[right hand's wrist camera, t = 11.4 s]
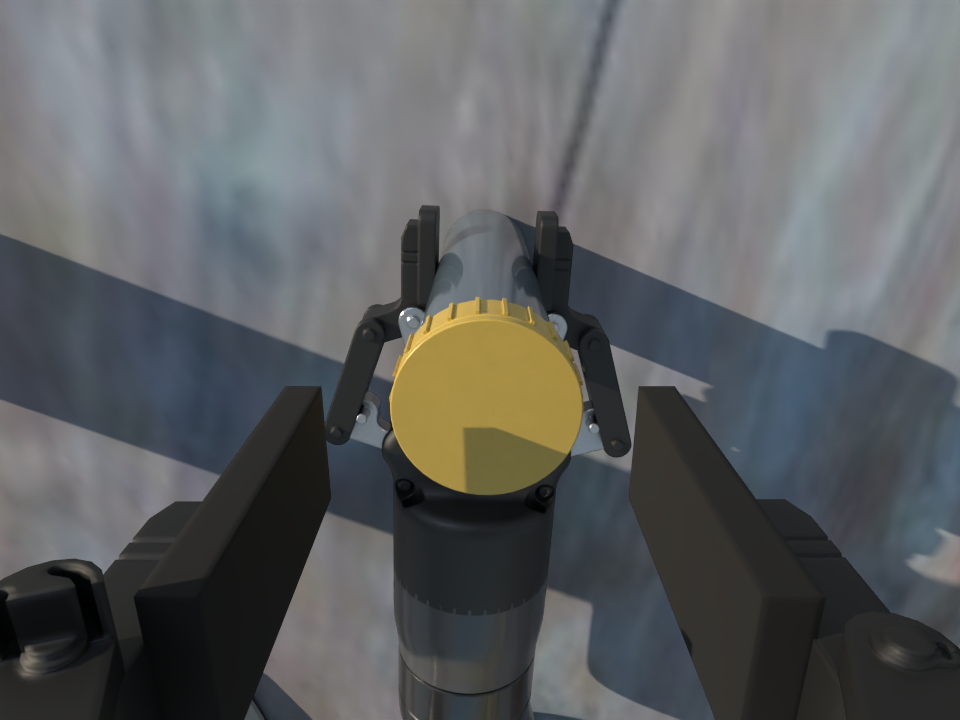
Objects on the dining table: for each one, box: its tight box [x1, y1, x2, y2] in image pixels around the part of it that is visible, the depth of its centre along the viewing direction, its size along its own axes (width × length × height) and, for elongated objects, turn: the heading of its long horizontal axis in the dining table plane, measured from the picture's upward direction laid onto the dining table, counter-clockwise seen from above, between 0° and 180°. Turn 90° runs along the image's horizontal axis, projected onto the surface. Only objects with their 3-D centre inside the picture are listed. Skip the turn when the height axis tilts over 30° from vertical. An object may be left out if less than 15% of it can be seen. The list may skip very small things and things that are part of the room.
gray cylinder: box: [420, 210, 550, 327], centre depth 24 cm, size 4×4×18 cm
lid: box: [389, 297, 584, 495], centre depth 16 cm, size 5×5×2 cm
